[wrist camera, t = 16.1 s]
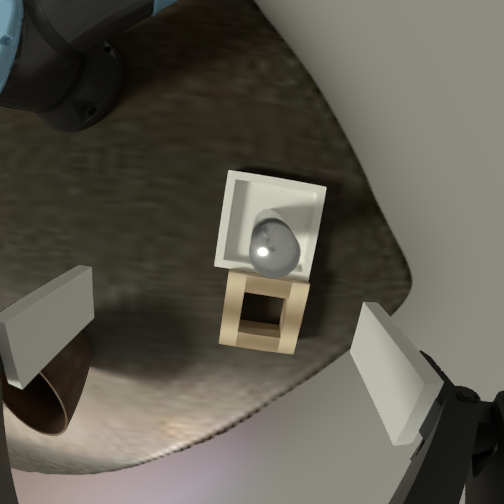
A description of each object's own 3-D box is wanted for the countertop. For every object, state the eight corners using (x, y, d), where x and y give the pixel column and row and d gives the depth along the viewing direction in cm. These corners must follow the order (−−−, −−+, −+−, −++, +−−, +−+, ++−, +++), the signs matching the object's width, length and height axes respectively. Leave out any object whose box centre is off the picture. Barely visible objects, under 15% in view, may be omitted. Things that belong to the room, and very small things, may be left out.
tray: (230, 170, 40) (228, 170, 37) (322, 186, 40) (326, 186, 37) (216, 261, 42) (214, 266, 40) (305, 275, 42) (308, 281, 40)
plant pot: (95, 394, 48) (57, 450, 33) (34, 345, 47) (-16, 388, 31) (124, 341, 46) (78, 401, 30) (53, 286, 44) (-9, 325, 28)
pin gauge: (256, 206, 40) (253, 223, 24) (287, 212, 40) (305, 232, 24) (251, 237, 41) (245, 273, 25) (282, 242, 41) (295, 281, 25)
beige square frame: (231, 263, 42) (228, 272, 38) (305, 275, 42) (310, 284, 38) (222, 330, 44) (218, 343, 41) (290, 340, 45) (293, 354, 41)
